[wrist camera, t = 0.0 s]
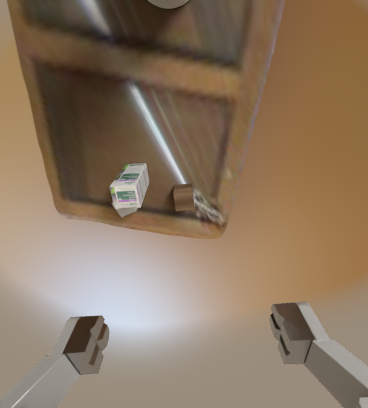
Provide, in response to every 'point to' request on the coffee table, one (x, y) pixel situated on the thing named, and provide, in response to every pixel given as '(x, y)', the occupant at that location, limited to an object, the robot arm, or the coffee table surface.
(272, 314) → the robot arm
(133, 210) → the grey block
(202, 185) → the coffee table surface
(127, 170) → the syrup box
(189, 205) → the walnut block
